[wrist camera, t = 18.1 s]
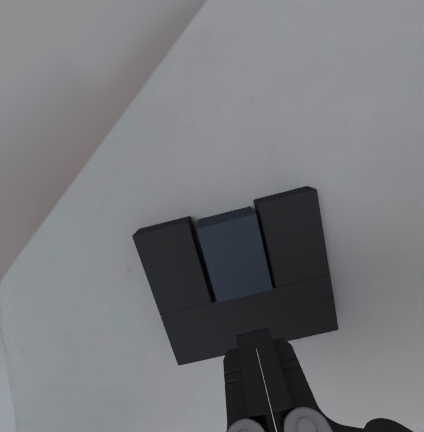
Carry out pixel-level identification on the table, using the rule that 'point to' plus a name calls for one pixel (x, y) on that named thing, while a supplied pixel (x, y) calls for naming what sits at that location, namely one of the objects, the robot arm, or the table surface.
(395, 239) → the table surface
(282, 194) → the black notched square slab
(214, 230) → the small block
